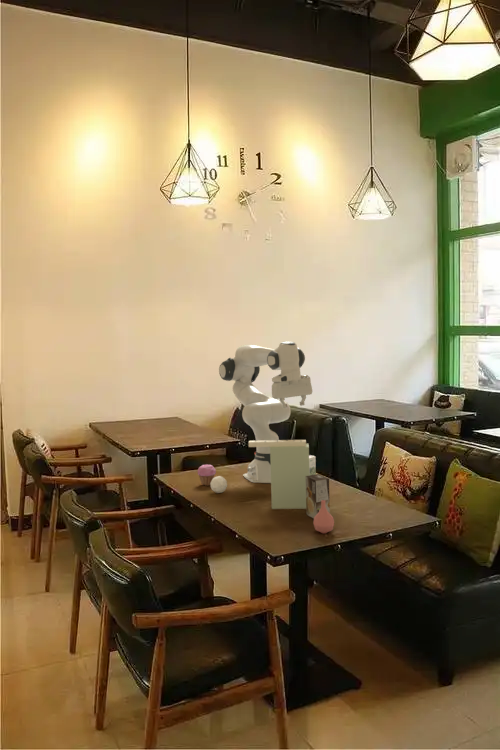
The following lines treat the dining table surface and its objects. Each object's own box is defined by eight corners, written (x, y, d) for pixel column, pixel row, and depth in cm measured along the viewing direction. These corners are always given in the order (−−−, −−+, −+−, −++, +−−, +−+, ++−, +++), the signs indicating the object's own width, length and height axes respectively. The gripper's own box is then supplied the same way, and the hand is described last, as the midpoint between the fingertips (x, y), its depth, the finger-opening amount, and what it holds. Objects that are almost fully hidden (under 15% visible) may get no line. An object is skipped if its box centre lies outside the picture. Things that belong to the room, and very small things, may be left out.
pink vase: (315, 528, 247) (315, 497, 246) (335, 529, 244) (335, 498, 243) (311, 535, 239) (311, 503, 238) (332, 536, 237) (331, 504, 236)
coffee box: (330, 518, 258) (330, 478, 257) (316, 520, 256) (315, 480, 255) (319, 512, 267) (318, 473, 266) (305, 514, 264) (304, 475, 263)
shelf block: (271, 508, 274) (270, 447, 271) (272, 503, 281) (270, 443, 279) (310, 508, 272) (308, 447, 270) (309, 503, 280) (308, 443, 278)
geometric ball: (218, 499, 300) (211, 488, 295) (212, 489, 306) (205, 478, 302) (232, 490, 301) (225, 479, 296) (225, 480, 307) (219, 469, 303)
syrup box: (305, 484, 312) (304, 454, 311) (316, 485, 309) (315, 455, 307) (299, 487, 307) (298, 456, 306) (310, 488, 304) (309, 458, 303)
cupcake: (219, 485, 315) (218, 464, 314) (203, 488, 310) (203, 467, 309) (210, 481, 323) (209, 461, 322) (194, 484, 318) (193, 464, 317)
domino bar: (248, 447, 274) (248, 442, 274) (249, 445, 278) (249, 440, 278) (306, 446, 272) (305, 441, 272) (305, 444, 276) (305, 439, 276)
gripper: (306, 374, 307) (308, 403, 307) (268, 378, 297) (271, 409, 298) (313, 374, 301) (316, 404, 302) (275, 378, 292) (278, 409, 292)
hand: (293, 406), depth 300 cm, fingers open, 8 cm apart
